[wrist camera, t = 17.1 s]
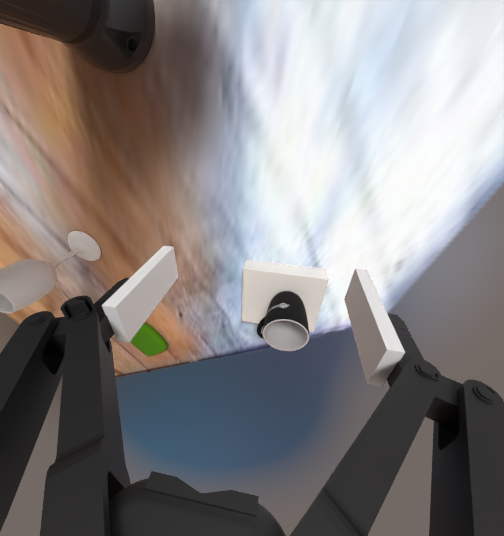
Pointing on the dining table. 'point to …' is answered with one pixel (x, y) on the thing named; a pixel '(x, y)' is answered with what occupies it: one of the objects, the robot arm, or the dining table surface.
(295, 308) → the mug
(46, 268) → the wineglass
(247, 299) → the flat plate
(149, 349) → the spray bottle
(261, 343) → the dining table surface
